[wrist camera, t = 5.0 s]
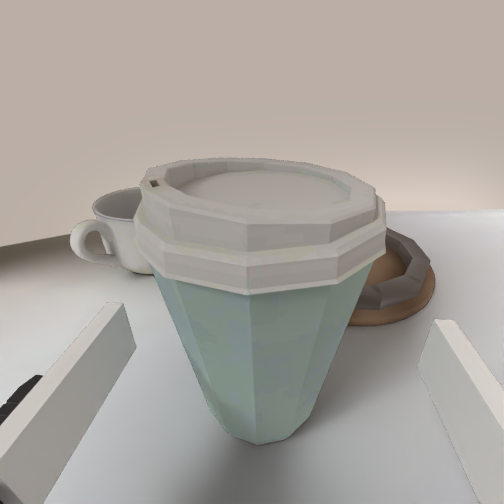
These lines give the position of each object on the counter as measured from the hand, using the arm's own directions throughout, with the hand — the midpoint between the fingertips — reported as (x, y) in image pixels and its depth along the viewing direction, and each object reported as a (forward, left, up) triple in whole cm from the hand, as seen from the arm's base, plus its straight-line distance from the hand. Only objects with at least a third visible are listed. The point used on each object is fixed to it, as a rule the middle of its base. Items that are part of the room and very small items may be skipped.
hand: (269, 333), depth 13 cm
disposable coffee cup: (-1, +3, -9) cm, 9 cm away
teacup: (-16, +19, -9) cm, 26 cm away
